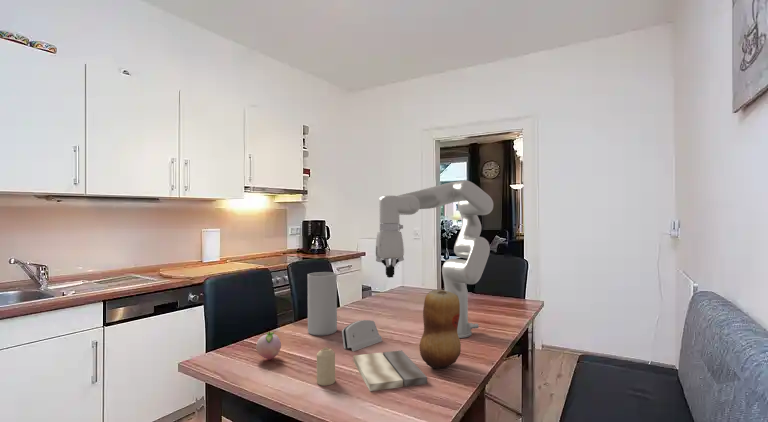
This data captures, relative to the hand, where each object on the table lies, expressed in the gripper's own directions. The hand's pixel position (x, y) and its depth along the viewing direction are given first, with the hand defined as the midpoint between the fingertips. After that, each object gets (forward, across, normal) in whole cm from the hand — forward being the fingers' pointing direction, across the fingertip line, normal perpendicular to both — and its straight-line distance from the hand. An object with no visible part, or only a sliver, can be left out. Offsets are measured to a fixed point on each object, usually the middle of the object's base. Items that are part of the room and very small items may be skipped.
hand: (390, 276), depth 147 cm
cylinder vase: (+27, +22, -30) cm, 46 cm away
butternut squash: (+27, -11, +21) cm, 36 cm away
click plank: (+27, +11, +20) cm, 35 cm away
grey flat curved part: (+28, +9, -9) cm, 30 cm away
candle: (+27, +27, +22) cm, 44 cm away
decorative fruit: (+27, +44, -2) cm, 52 cm away
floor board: (+27, +2, +20) cm, 34 cm away
